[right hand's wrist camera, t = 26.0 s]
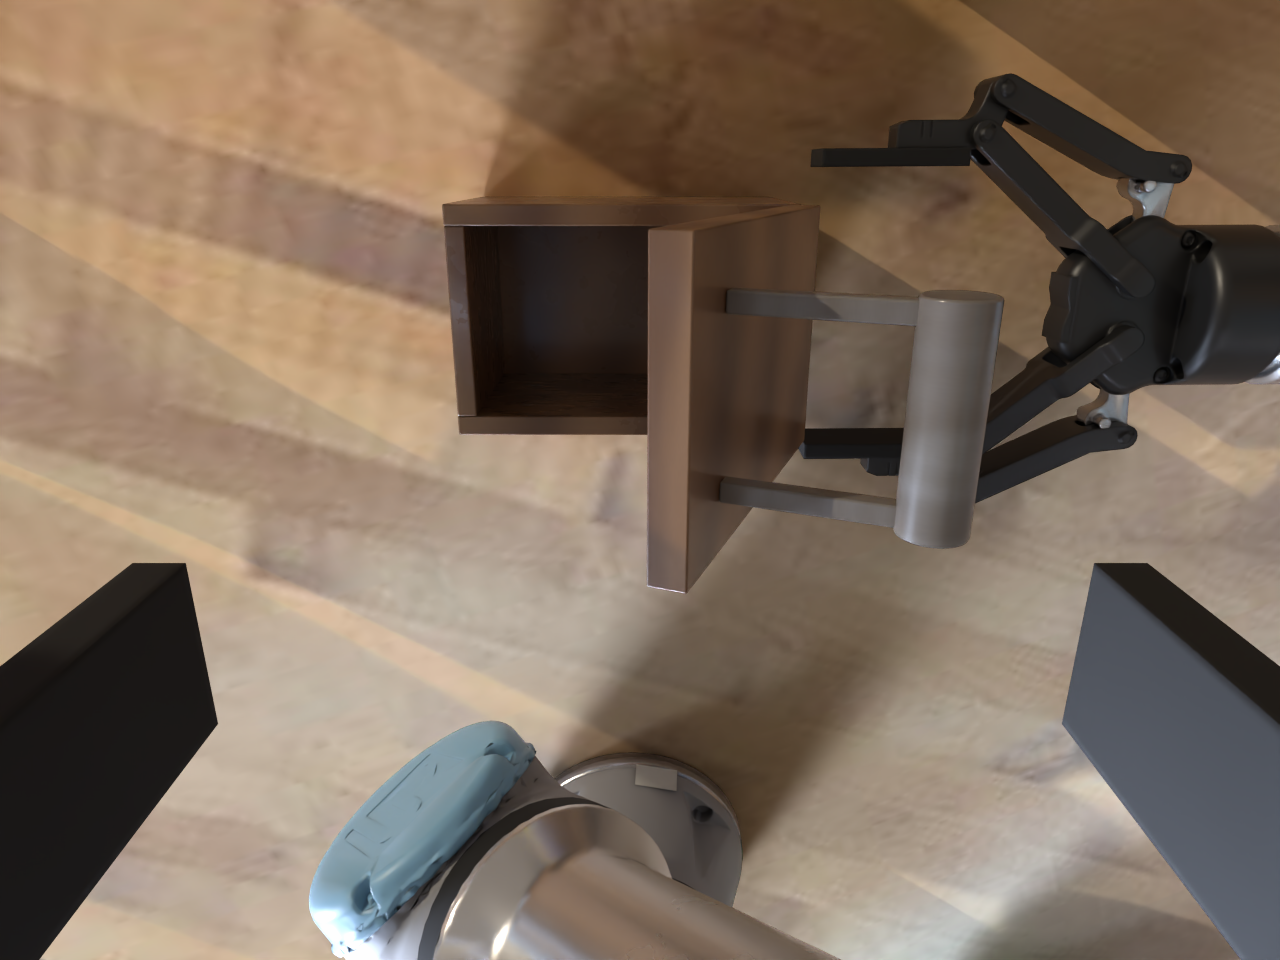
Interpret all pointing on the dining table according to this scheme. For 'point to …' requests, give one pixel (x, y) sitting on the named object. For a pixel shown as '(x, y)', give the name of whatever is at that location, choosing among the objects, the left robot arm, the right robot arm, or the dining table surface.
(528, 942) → the left robot arm
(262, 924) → the dining table surface
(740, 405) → the lid
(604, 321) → the chest
